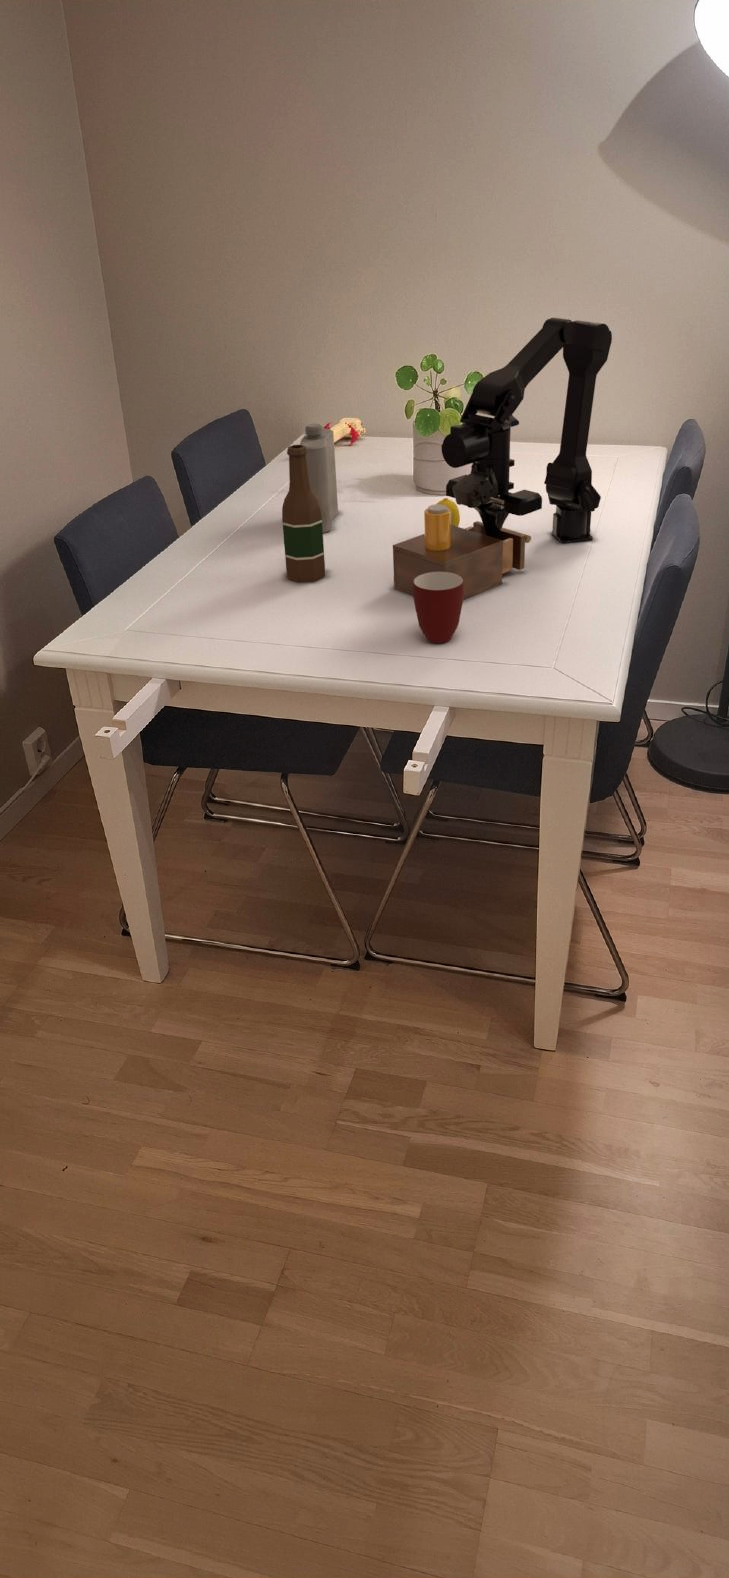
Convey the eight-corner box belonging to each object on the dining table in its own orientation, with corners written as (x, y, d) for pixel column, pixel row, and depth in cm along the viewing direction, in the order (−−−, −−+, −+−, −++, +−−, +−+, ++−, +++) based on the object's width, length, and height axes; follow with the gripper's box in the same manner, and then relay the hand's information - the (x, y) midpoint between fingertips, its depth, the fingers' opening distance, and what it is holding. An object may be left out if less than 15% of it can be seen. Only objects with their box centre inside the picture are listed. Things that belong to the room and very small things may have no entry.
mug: (418, 622, 185) (417, 565, 180) (466, 623, 184) (466, 566, 179) (411, 648, 176) (410, 590, 171) (461, 649, 175) (461, 590, 170)
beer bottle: (332, 570, 207) (325, 441, 195) (318, 585, 201) (309, 453, 189) (295, 566, 210) (284, 439, 197) (279, 581, 204) (267, 451, 191)
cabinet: (450, 566, 206) (450, 524, 202) (502, 584, 198) (503, 540, 193) (393, 588, 198) (392, 545, 194) (445, 607, 190) (445, 562, 185)
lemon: (457, 542, 217) (457, 502, 213) (430, 541, 218) (429, 502, 214) (461, 533, 222) (461, 494, 218) (434, 532, 223) (433, 493, 219)
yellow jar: (447, 540, 194) (447, 502, 191) (453, 549, 191) (453, 510, 187) (422, 543, 194) (421, 504, 190) (427, 552, 190) (427, 512, 186)
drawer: (493, 547, 211) (493, 515, 208) (540, 562, 204) (541, 528, 200) (426, 573, 202) (426, 539, 198) (473, 589, 194) (474, 554, 190)
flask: (313, 510, 238) (306, 416, 228) (339, 510, 237) (334, 416, 227) (302, 534, 226) (294, 435, 215) (330, 533, 225) (323, 434, 214)
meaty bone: (333, 466, 271) (373, 432, 289) (330, 430, 266) (371, 398, 284) (298, 462, 275) (340, 429, 293) (294, 428, 270) (337, 396, 287)
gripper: (424, 455, 195) (425, 540, 203) (502, 475, 183) (500, 564, 191) (467, 442, 201) (466, 525, 209) (545, 461, 189) (542, 548, 197)
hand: (492, 540), depth 201 cm, fingers closed, pressing on drawer
